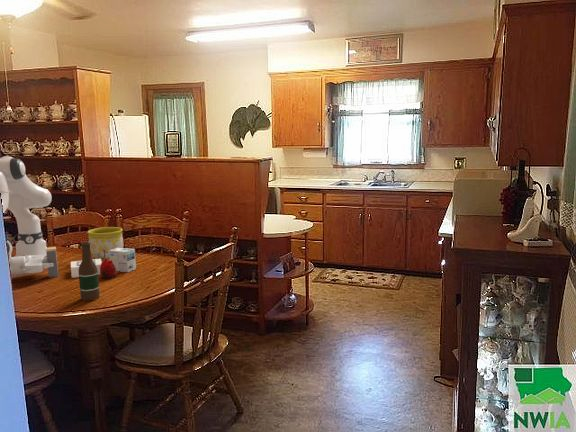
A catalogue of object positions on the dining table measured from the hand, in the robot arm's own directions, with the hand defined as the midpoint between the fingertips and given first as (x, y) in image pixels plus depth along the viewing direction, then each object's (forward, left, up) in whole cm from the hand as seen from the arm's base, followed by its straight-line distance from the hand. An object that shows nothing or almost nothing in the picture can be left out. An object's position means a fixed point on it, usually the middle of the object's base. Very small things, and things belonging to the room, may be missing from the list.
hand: (53, 262), depth 229 cm
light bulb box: (+4, +31, -7) cm, 32 cm away
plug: (0, -1, -7) cm, 7 cm away
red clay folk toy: (+14, +23, -7) cm, 28 cm away
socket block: (+1, +14, -7) cm, 16 cm away
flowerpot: (-22, +25, -7) cm, 34 cm away
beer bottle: (+42, +14, -7) cm, 45 cm away
